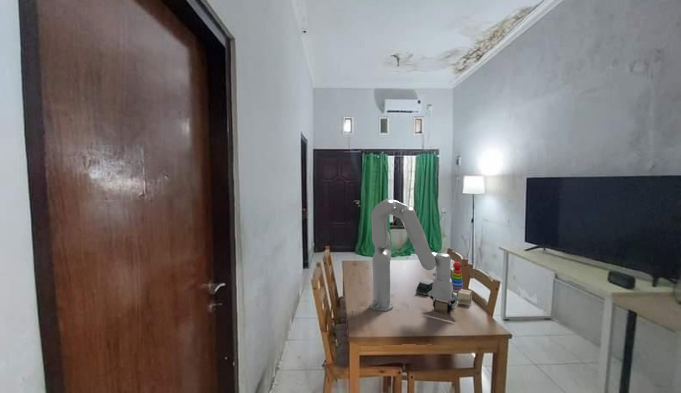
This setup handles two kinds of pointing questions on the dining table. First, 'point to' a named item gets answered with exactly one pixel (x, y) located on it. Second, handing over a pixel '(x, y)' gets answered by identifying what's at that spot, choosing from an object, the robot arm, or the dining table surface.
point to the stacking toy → (457, 277)
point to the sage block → (455, 302)
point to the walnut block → (441, 306)
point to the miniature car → (425, 286)
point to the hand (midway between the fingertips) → (442, 309)
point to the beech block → (465, 297)
